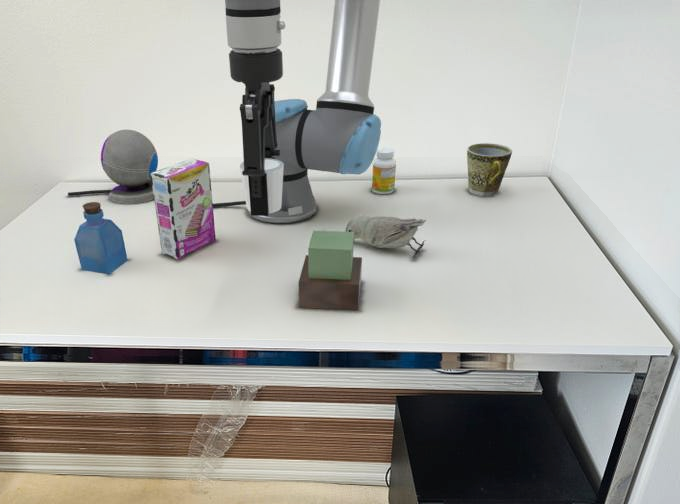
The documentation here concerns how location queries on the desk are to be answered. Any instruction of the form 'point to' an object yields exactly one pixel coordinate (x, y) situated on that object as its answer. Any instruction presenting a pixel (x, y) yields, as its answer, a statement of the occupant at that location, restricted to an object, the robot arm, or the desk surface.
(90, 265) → the perfume bottle
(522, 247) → the desk surface
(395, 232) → the decorative bird
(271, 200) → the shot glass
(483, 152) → the ceramic cup
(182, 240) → the candy bar box
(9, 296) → the desk surface
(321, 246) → the green block
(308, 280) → the walnut block
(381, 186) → the supplement bottle
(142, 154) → the grey ball on base
